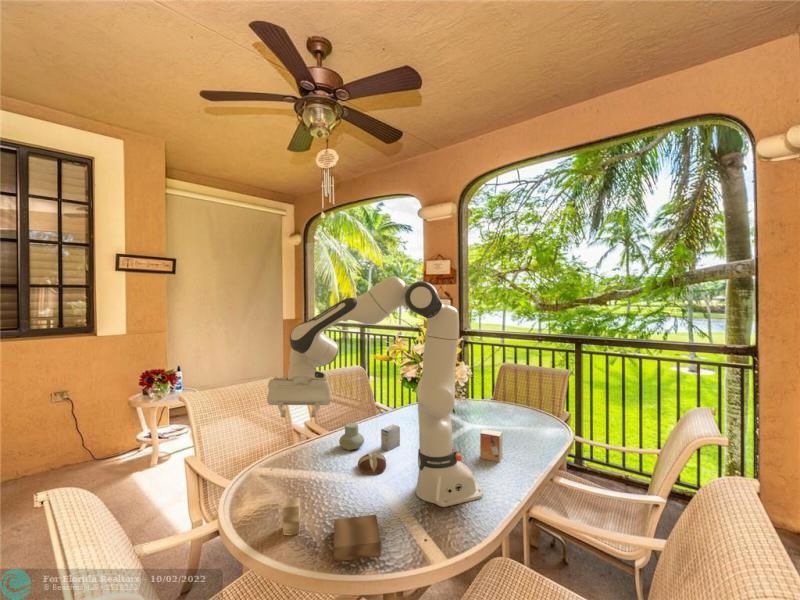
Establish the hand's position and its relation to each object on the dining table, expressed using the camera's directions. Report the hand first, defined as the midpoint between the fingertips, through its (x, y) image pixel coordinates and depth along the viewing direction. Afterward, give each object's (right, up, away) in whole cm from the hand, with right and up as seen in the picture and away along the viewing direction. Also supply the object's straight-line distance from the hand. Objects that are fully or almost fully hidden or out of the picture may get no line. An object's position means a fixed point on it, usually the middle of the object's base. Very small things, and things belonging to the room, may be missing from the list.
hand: (298, 416), depth 117 cm
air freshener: (+11, -29, +46) cm, 56 cm away
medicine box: (+28, -28, +46) cm, 61 cm away
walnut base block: (+20, -29, -17) cm, 40 cm away
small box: (+70, -28, +34) cm, 82 cm away
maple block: (+1, -29, -11) cm, 31 cm away
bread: (+21, -29, +27) cm, 45 cm away
